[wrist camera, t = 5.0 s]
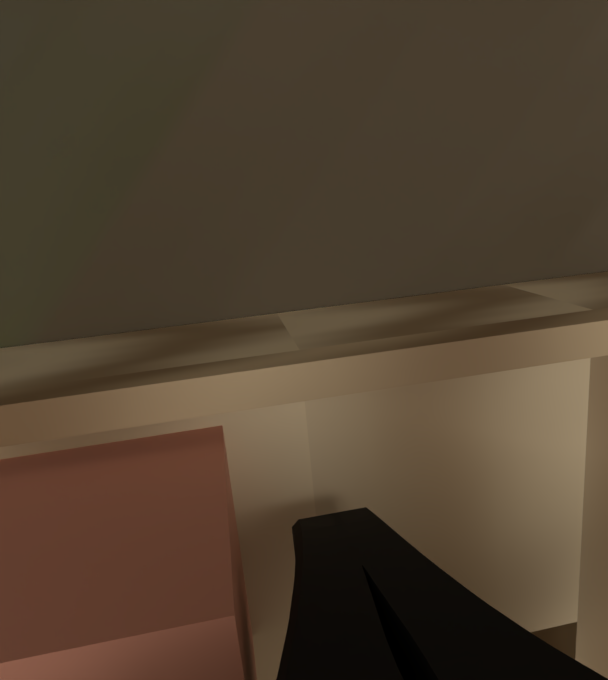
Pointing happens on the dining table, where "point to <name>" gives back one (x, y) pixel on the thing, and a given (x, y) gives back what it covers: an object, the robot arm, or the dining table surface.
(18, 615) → the brick block
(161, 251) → the dining table surface
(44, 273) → the dining table surface
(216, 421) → the trap tray
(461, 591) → the robot arm
